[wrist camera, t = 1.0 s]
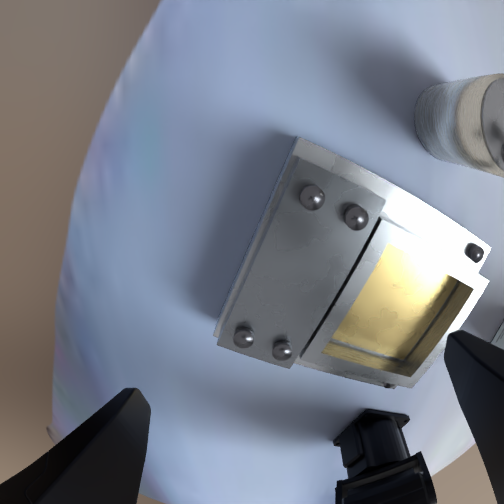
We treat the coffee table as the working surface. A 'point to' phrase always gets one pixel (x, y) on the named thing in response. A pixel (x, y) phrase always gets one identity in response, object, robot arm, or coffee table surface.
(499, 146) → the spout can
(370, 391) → the coffee table surface
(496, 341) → the ink box
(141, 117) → the coffee table surface
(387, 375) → the gearbox
